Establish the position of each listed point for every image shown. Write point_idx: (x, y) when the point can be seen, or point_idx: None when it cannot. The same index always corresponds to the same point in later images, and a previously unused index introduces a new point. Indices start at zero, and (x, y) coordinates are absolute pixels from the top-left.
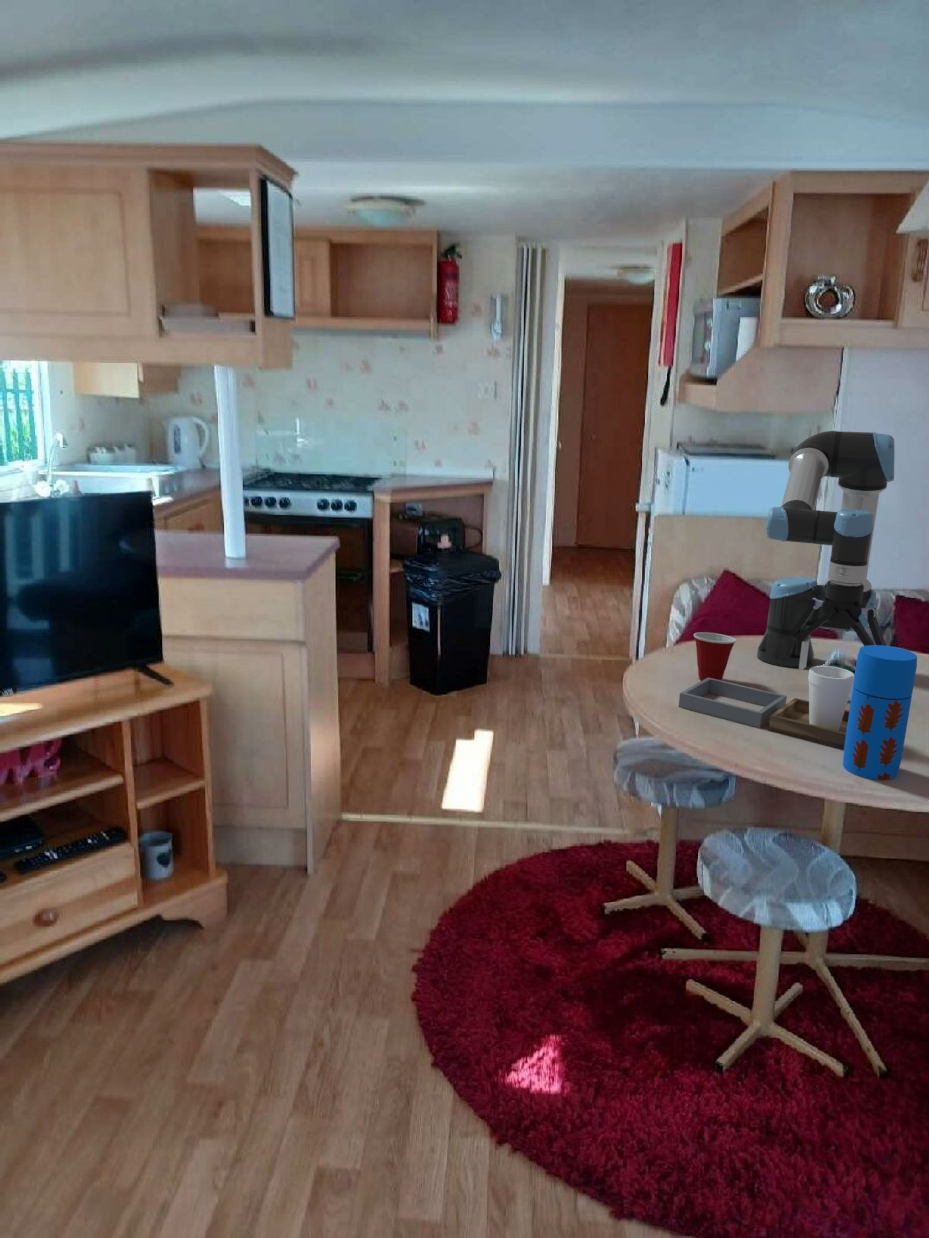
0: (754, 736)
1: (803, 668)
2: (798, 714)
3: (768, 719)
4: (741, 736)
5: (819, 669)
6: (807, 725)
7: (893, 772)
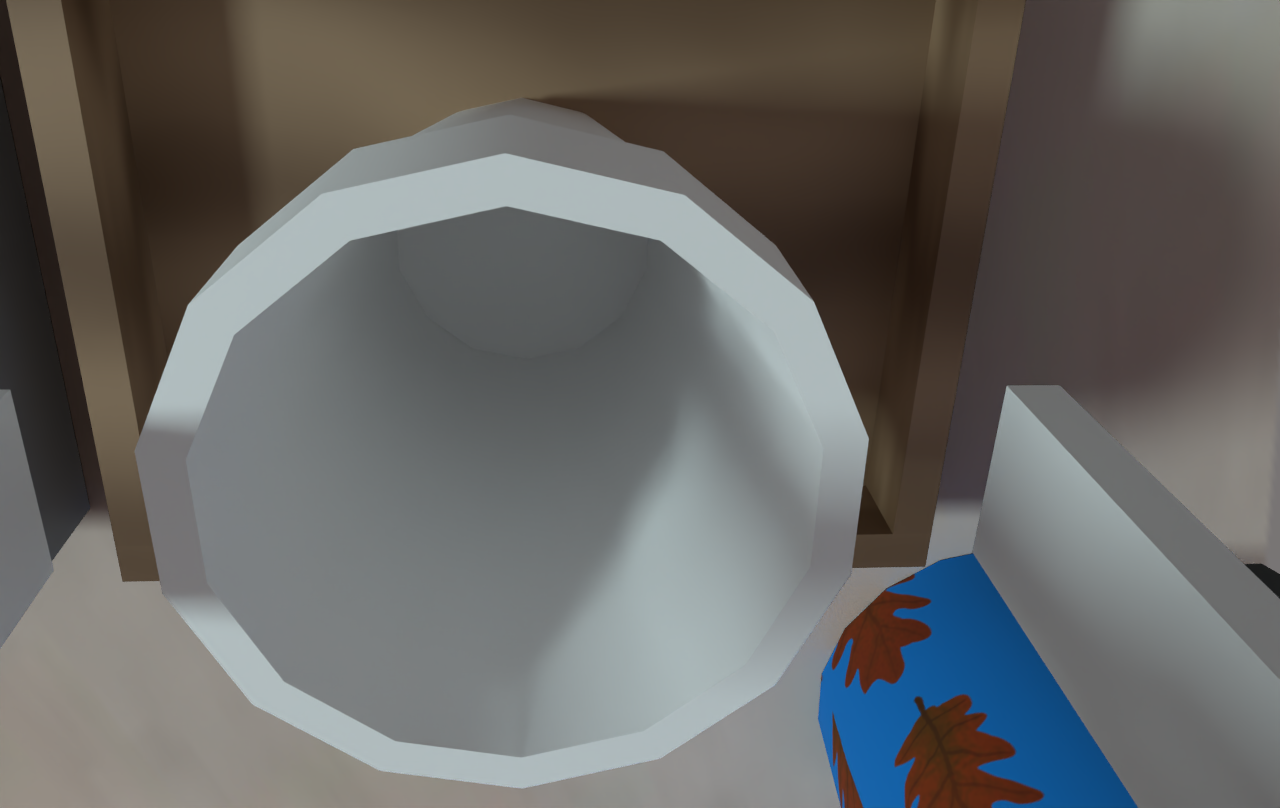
0: (163, 677)
1: (33, 504)
2: (184, 41)
3: (42, 338)
4: (98, 732)
5: (241, 337)
6: None
7: None
